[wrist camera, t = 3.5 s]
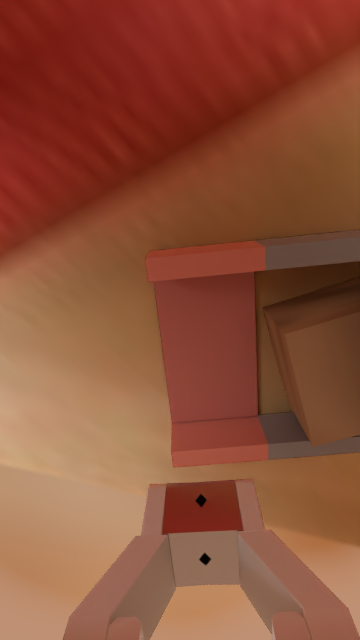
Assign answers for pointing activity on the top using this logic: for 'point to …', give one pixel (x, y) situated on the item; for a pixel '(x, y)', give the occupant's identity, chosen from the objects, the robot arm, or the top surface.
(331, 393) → the walnut block
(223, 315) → the trap box
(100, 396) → the top surface
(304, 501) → the top surface
